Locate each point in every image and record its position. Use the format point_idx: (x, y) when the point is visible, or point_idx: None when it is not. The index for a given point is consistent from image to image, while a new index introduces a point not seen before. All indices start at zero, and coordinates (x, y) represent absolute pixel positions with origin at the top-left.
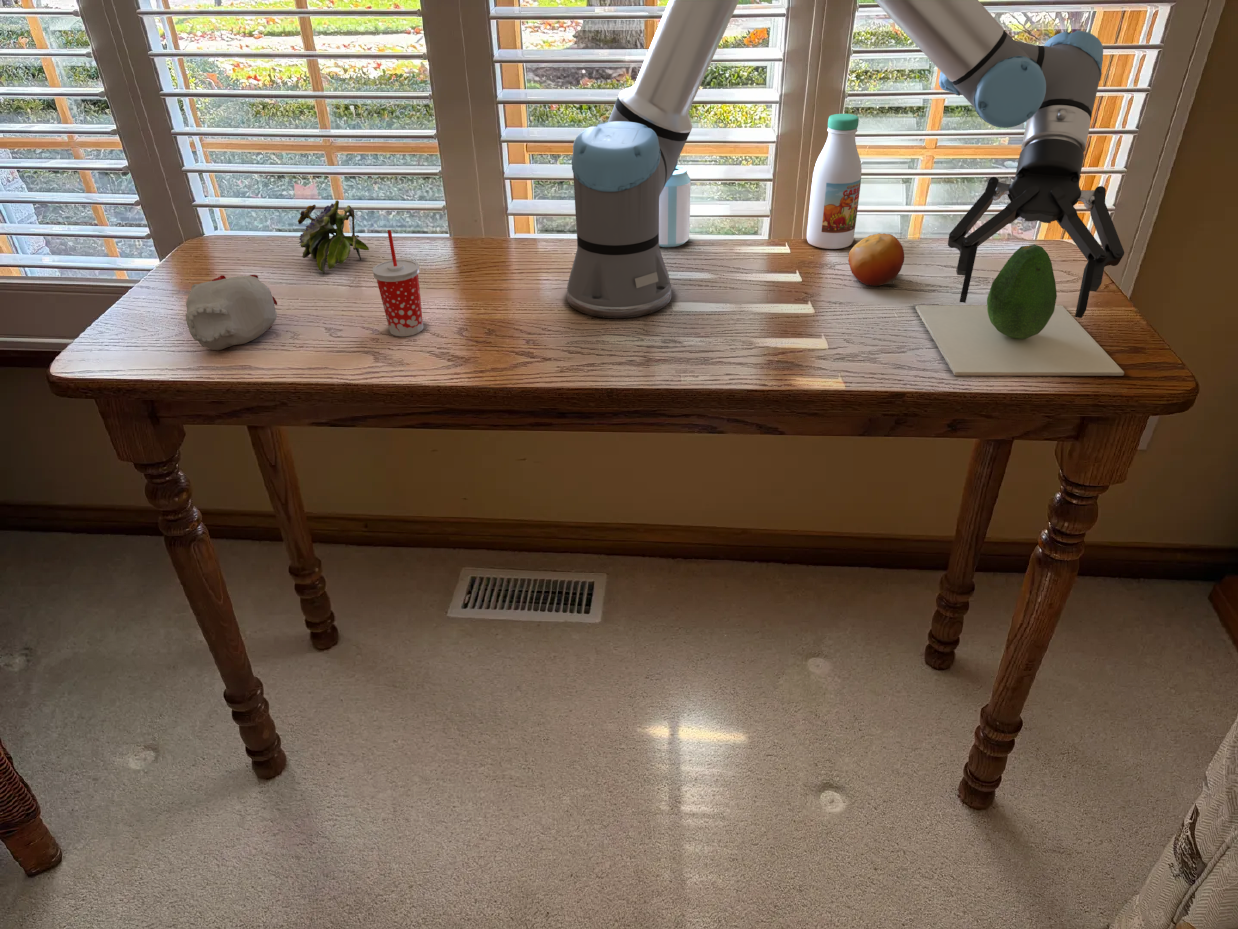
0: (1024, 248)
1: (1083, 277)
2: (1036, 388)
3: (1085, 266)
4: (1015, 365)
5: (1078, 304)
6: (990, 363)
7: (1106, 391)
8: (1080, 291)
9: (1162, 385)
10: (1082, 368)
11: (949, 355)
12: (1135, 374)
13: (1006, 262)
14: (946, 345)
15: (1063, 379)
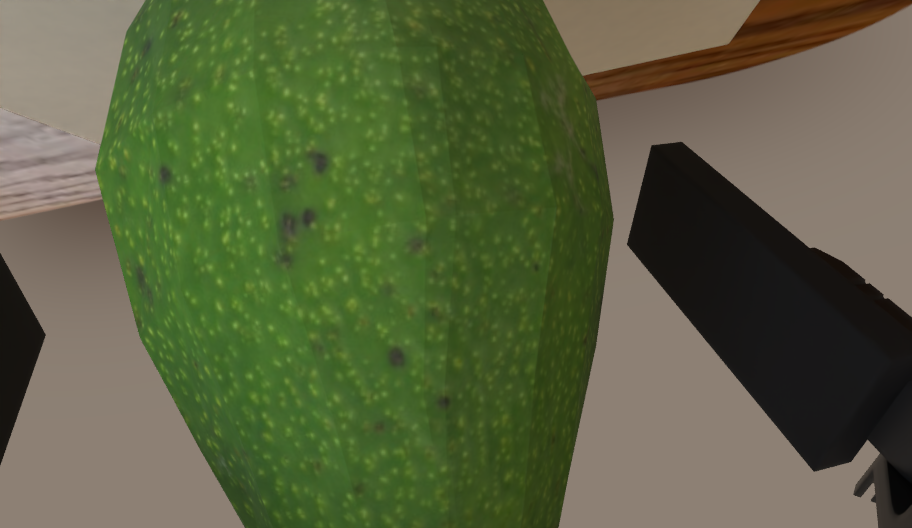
0: None
1: (788, 327)
2: None
3: (866, 391)
4: None
5: (669, 216)
6: None
7: (604, 92)
8: (730, 252)
9: (809, 35)
10: (590, 62)
11: (82, 130)
12: (783, 10)
13: (235, 509)
14: (10, 94)
15: None
